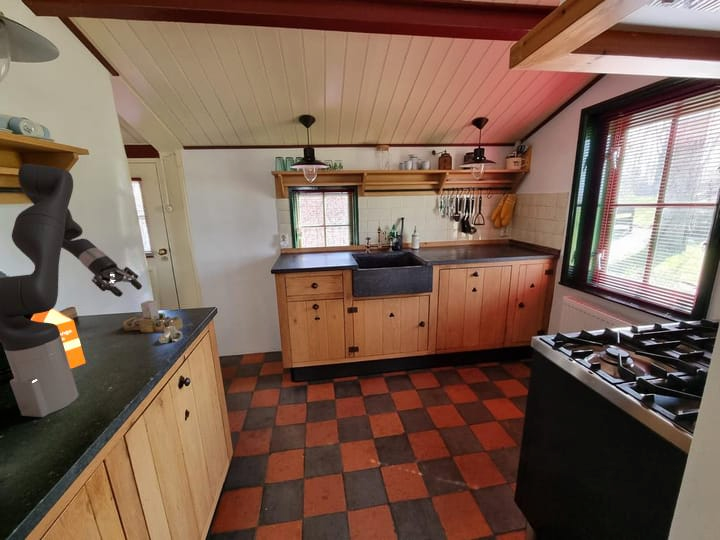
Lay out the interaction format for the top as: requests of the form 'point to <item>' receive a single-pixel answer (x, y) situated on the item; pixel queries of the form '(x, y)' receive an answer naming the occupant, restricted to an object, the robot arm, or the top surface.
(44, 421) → the top surface
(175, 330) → the pipe fitting
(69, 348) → the orange juice
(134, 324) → the gold block with rollers
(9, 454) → the top surface
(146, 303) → the square grey block
